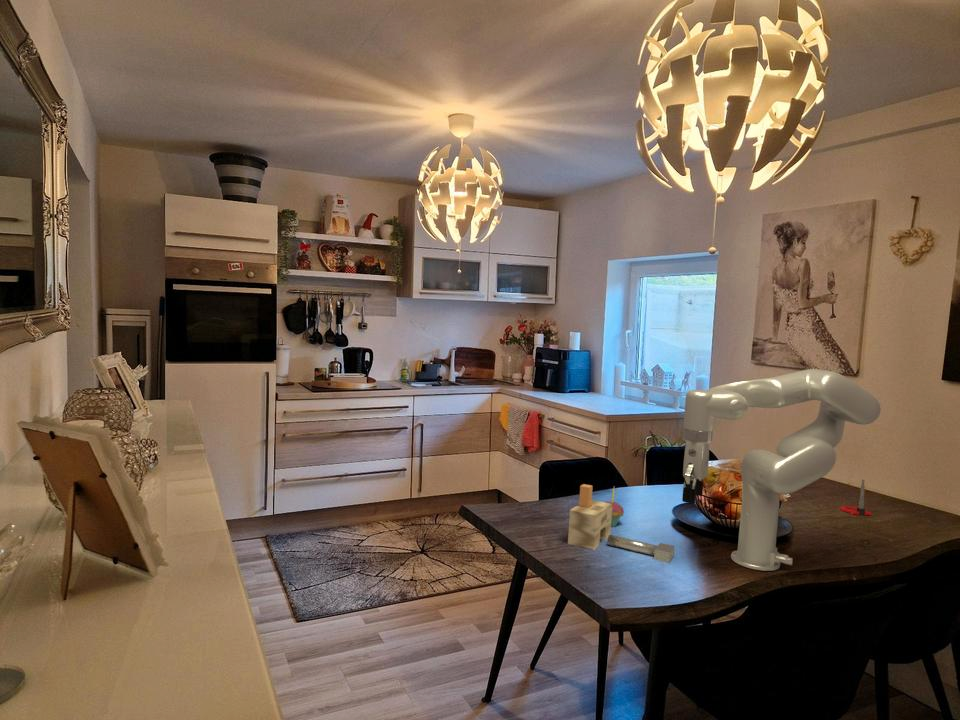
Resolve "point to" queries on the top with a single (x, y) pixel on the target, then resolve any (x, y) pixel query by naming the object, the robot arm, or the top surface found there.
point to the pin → (644, 548)
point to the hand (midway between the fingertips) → (692, 498)
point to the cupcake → (615, 510)
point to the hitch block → (590, 524)
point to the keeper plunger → (585, 496)
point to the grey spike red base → (861, 505)
